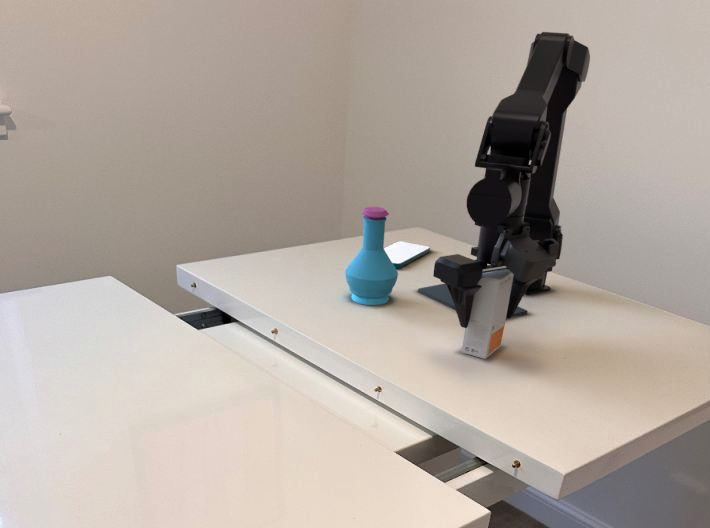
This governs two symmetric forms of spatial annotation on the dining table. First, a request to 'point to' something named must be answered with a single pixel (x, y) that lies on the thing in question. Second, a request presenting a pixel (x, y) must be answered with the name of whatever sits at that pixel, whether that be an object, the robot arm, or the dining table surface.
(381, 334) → the dining table surface
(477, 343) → the cosmetic box
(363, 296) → the perfume bottle
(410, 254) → the smartphone
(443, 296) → the side mat
